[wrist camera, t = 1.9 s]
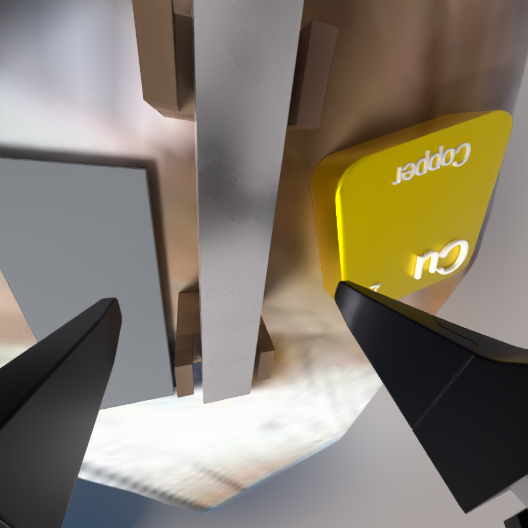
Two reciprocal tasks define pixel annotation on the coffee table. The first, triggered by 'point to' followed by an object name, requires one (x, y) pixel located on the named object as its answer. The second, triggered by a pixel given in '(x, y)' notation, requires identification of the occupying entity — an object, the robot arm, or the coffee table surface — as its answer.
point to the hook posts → (182, 107)
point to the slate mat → (88, 261)
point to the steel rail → (238, 171)
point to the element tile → (408, 202)
